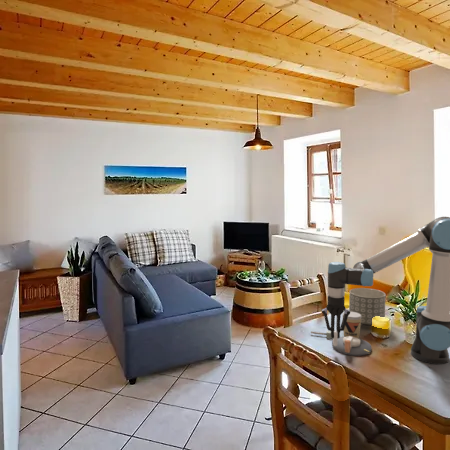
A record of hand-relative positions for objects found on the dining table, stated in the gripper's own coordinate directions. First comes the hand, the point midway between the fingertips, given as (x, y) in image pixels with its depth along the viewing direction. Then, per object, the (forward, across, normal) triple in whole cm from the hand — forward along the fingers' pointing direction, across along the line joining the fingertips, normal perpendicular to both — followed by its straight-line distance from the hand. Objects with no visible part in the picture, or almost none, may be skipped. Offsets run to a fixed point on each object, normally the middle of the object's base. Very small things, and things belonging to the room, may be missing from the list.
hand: (335, 344), depth 166 cm
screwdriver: (+5, 0, -20) cm, 20 cm away
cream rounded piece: (+2, -8, -4) cm, 9 cm away
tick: (+3, -14, 0) cm, 15 cm away
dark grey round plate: (+4, -9, -7) cm, 13 cm away
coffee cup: (+5, -12, -20) cm, 24 cm away
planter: (+5, -26, -40) cm, 47 cm away
